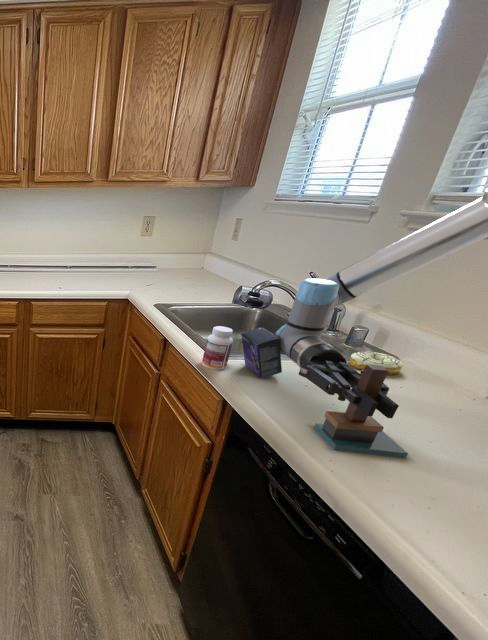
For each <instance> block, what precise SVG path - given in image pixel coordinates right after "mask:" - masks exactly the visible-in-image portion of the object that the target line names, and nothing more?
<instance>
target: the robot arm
mask: <svg viewBox="0 0 488 640" xmlns="http://www.w3.org/2000/svg"><path fill="white" fill-rule="evenodd" d="M485 238H488V188H486V189H484V191H483V193H482V194H481V196H480V197H479V198H477V199H476V200H474V201H472V202H470V203H468V204H466V205H464V206H462V207H460V208H458V209H456V210H455V211H452V212H451V213H448V214H447V215H445V216H442V217H441V218H438V219H437V220H435V221H433V222H431V223H430V224H428V225H426V226H424V227H422V228H420V229H418V230H416V231H414V232H412V233H410V234H407V235H406V236H404V237H402V238H401V239H398V240H397V241H395V242H393V243H391V244H389V245H387V246H385V247H383V248H381V249H379V250H377V251H376V252H374V253H372V254H370V255H368V256H366V257H364V258H362V259H360V260H358V261H356V262H355V263H352V264H350V265H349V266H347V267H344V268H343V269H340V270H339V271H337V272H335V273H333V274H331V275H329V276H327V277H325V278H314V277H313V278H311V277H310V278H305V279H303V280H302V281H300V283H299V286H298V289H297V290H296V292H295V297H294V300H293V302H292V306H291V310H290V312H289V316H288V319H287V321H286V323H285V324H284V325H282V326H281V327H279V328H278V329H277V330H276V332H275V334H274V335H276V336H277V337H279V342H280V353H282V354H283V355H284V356H286V357H287V358H289V359H290V360H291V362H293V363H294V364H295V365H296V366H298V367H299V371H298V375H299V376H300V377H303V378H306V379H307V380H308V381H310V382H311V383H312V384H314V385H315V386H316V387H318V388H319V389H320V390H322V391H323V392H324V393H326V394H327V395H329V396H334V395H335V394H337V396H338V397H337V400H338V401H340V402H345V401H348V402H349V403H350V402H351V403H353V404H354V405H355V406H356V407H357V408H359V409H360V410H361V411H362V412H363V413H365V414H366V415H367V416H371V417H373V416H374V414H375V411H378V412H379V413H381V414H382V415H383V416H384V417H385V418H387V419H393V418H394V416H395V414H396V412H397V410H398V408H399V407H400V405H399V404H397V403H396V402H395V401H394V400H393V399H392V398H390V397H389V396H387V395H388V393H389V391H390V387H389V386H388V385H387V384H386V383H385V382H383V384H382V386H381V389H380V391H379V393H378V395H377V397H376V399H375V400H373V399H372V398H371V397H370V396H368V395H367V394H366V393H364V392H363V391H362V390H360V389H359V388H358V387H357V384H358V382H359V380H360V377H361V375H362V373H363V370H359V369H358V370H357V369H356V367H354V366H352V365H350V364H348V363H347V359H346V357H345V355H344V353H342V352H341V351H340V350H338V349H337V348H335V347H334V346H333V345H332V344H330V343H328V342H326V341H325V340H324V339H322V334H323V332H324V330H325V327H326V324H327V323H328V319H329V317H330V316H331V315H330V314H331V312H332V311H333V310H334V309H335V308H337V307H338V306H340V305H342V304H345V303H347V302H350V301H352V300H353V299H355V298H357V297H359V296H362V295H364V294H366V293H368V292H370V291H372V290H376V289H377V288H379V287H381V286H384V285H386V284H388V283H391V282H392V281H395V280H397V279H399V278H400V277H404V276H405V275H408V274H410V273H411V272H414V271H416V270H419V269H420V268H422V267H425V266H427V265H429V264H431V263H434V262H436V261H437V260H441V259H442V258H444V257H446V256H449V255H451V254H453V253H455V252H457V251H459V250H461V249H464V248H466V247H469V246H470V245H472V244H474V243H477V242H480V241H481V240H484V239H485Z"/></svg>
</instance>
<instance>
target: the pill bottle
mask: <svg viewBox="0 0 488 640" xmlns="http://www.w3.org/2000/svg"><path fill="white" fill-rule="evenodd" d="M233 332H234V329H232V328H230V327H227V326H222V325H216V326H214V327H213V328H212V333H211V334H209V335H208V336H207V339H206V343H205V347H204V352H203V355H202V360H201V365H202V366H204V367H206V368H209V369H212V370H225V369H226V368H227V366H228V363H229V358H230V355H231V352H232V347H233V344H234V339H233V338H232V337H231V336H233Z"/></svg>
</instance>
